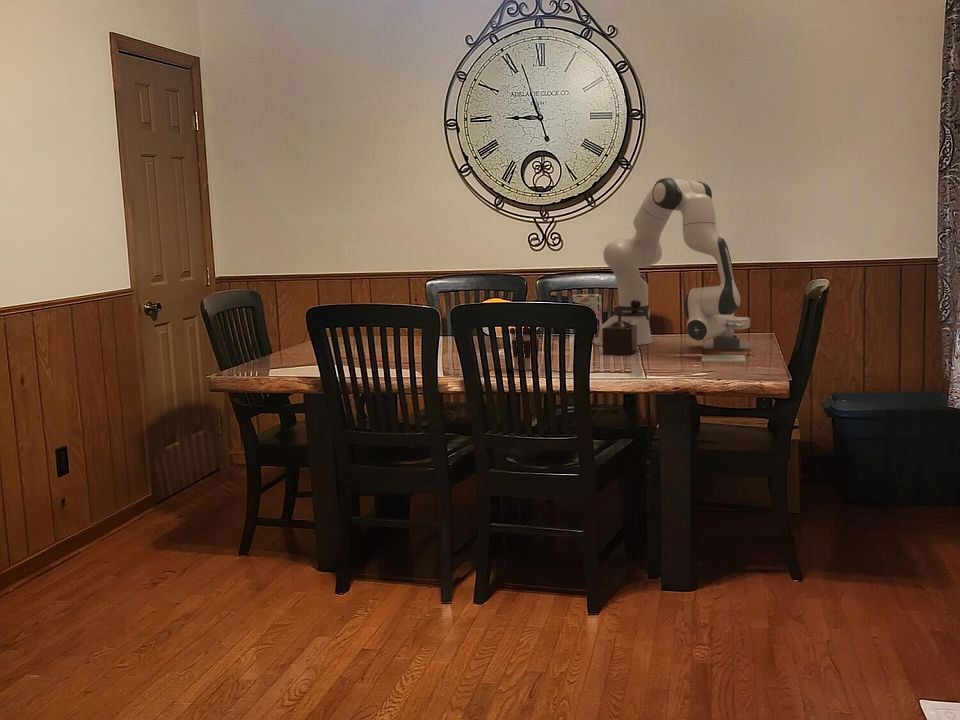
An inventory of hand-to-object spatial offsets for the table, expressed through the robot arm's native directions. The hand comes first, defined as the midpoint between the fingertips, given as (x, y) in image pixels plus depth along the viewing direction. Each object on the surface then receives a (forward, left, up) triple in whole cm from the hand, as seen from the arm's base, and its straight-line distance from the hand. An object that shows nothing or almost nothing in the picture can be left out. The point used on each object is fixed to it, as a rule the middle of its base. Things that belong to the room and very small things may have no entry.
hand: (727, 319), depth 374 cm
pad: (-1, -26, -10) cm, 28 cm away
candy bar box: (-54, +31, -10) cm, 63 cm away
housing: (0, -1, -10) cm, 10 cm away
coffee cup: (-64, -49, -10) cm, 81 cm away
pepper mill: (-36, -11, -10) cm, 39 cm away
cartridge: (0, -1, -9) cm, 9 cm away
